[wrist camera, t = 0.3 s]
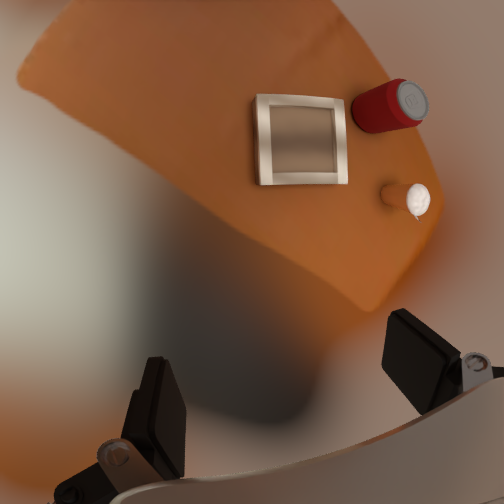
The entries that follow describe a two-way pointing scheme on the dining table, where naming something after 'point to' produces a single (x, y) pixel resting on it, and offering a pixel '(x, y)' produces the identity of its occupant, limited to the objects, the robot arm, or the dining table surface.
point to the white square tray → (299, 140)
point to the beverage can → (391, 107)
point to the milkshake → (407, 197)
